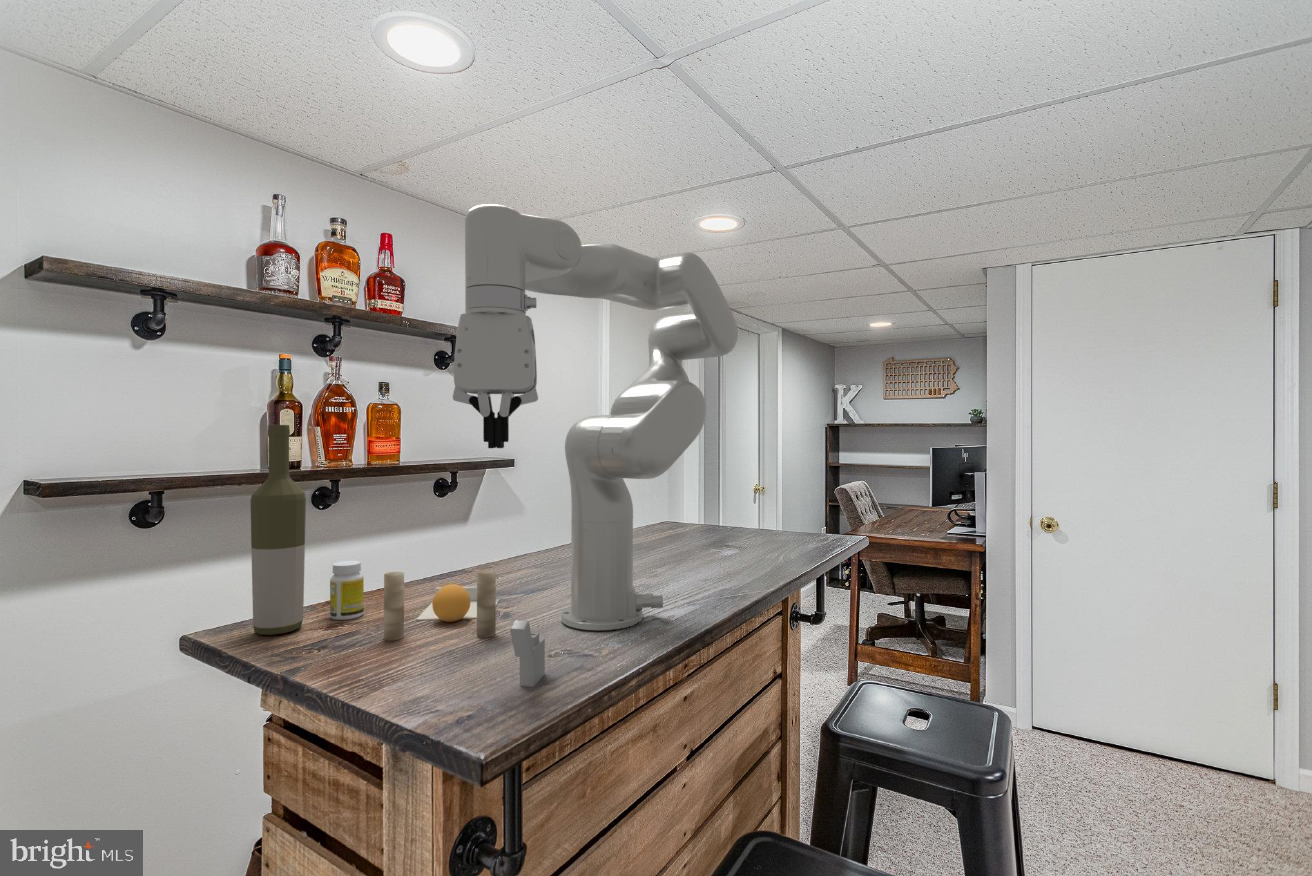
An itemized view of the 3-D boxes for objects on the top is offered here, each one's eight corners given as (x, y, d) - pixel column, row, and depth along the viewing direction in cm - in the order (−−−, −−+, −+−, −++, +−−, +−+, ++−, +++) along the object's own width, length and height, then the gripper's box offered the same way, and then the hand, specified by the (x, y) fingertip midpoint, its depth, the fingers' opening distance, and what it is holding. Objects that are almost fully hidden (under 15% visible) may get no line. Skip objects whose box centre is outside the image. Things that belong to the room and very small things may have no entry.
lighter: (531, 672, 77) (531, 606, 77) (545, 673, 76) (545, 606, 76) (509, 696, 70) (509, 623, 70) (524, 697, 69) (524, 623, 69)
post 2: (496, 631, 93) (496, 569, 93) (494, 637, 90) (494, 573, 90) (478, 632, 92) (478, 570, 92) (475, 637, 90) (475, 574, 90)
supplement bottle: (369, 612, 103) (369, 560, 103) (352, 620, 98) (352, 566, 98) (341, 611, 103) (341, 559, 103) (323, 619, 98) (323, 565, 98)
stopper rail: (496, 600, 110) (496, 585, 110) (495, 601, 109) (495, 587, 109) (436, 601, 109) (436, 587, 109) (435, 603, 108) (435, 588, 108)
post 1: (406, 634, 91) (406, 571, 91) (400, 640, 89) (401, 575, 89) (387, 635, 91) (387, 572, 91) (381, 640, 88) (381, 575, 88)
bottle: (295, 637, 90) (295, 424, 90) (240, 639, 89) (241, 424, 89) (313, 622, 97) (313, 425, 97) (263, 624, 96) (263, 425, 96)
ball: (469, 623, 95) (473, 615, 101) (467, 585, 96) (471, 580, 101) (430, 627, 94) (436, 619, 100) (428, 589, 95) (434, 583, 100)
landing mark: (499, 600, 110) (499, 599, 110) (489, 618, 100) (489, 616, 100) (433, 601, 109) (433, 600, 109) (416, 620, 98) (416, 618, 98)
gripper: (555, 312, 87) (556, 447, 87) (442, 310, 85) (443, 447, 85) (552, 301, 79) (552, 448, 80) (428, 298, 78) (429, 449, 78)
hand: (496, 447), depth 82 cm, fingers closed
